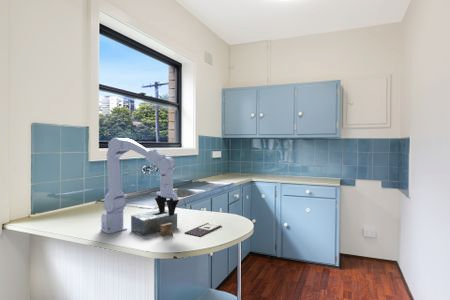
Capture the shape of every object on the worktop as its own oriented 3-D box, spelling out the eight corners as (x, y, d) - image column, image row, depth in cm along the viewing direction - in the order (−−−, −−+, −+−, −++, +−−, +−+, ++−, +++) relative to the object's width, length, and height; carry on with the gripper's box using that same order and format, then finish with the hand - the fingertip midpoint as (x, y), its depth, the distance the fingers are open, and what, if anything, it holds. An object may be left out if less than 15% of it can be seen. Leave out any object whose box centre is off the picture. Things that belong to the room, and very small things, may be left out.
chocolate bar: (184, 232, 129) (207, 223, 144) (184, 234, 129) (207, 224, 144) (200, 235, 124) (221, 225, 140) (200, 238, 124) (221, 227, 140)
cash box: (143, 236, 125) (143, 220, 125) (131, 230, 134) (131, 215, 134) (177, 227, 138) (177, 213, 138) (163, 222, 146) (163, 209, 146)
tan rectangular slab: (163, 237, 124) (163, 225, 124) (160, 236, 126) (160, 224, 125) (172, 234, 128) (172, 223, 128) (170, 233, 129) (170, 222, 129)
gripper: (183, 184, 124) (183, 215, 124) (165, 181, 134) (165, 209, 134) (169, 186, 119) (170, 218, 119) (152, 182, 129) (152, 212, 129)
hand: (166, 214), depth 126 cm, fingers open, 7 cm apart
